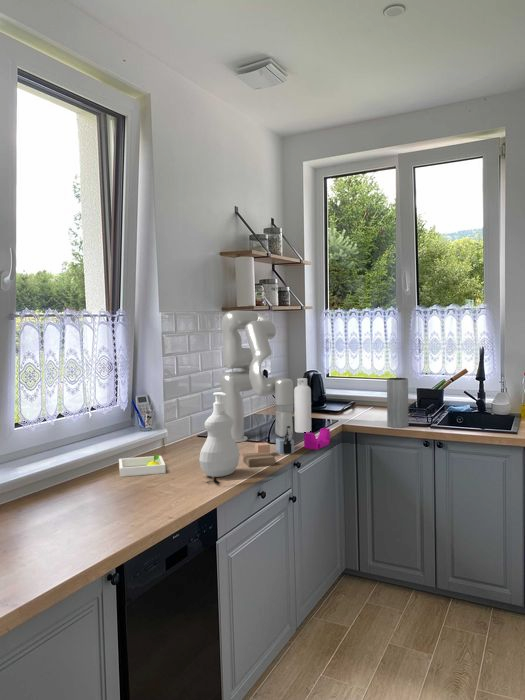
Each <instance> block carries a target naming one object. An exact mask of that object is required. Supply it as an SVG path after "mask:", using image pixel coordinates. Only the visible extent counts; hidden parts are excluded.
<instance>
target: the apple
mask: <svg viewBox="0 0 525 700" xmlns="http://www.w3.org/2000/svg"><path fill="white" fill-rule="evenodd" d="M153 456H154V461H153V462H149V463H148V464H147V465H146V466H149V465H160V464H159V463H157V462H155V460H157V459H158V458H159V456H160V454H155V455H153Z"/></svg>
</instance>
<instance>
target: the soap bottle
mask: <svg viewBox="0 0 525 700" xmlns="http://www.w3.org/2000/svg"><path fill="white" fill-rule="evenodd" d="M212 395H213V396H214V397H215V398H214V399H215V402H213V406H212V407H213V411H212V414H211V415H210V416H208V418H207V419H206V420H205V421H204V428H205V429H206V431H207V437H206V439H205V442H204V443H203V446H202V448H201V450H200V453H199V459H198V460H199V466H200V470H202V471H203V473H204V474H205V475H206V476H207V477H213V478H222V477H226V476H229V475H231V474H233V473H235V471H236V469H237V467H238V465H239V461H240V455H241V454H240V450H239V446H238V444H237V442H235V441H234V439H233V438H232V435H231V428H232V426H233V419H232V418H231V417H230V416H229V415H227V414H226V413H225V411H224V402H223V398H222V396H227V395H226V394H225V393H223V392H222V391H220V392H219V391H217V392H213V394H212Z"/></svg>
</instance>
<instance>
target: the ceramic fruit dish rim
mask: <svg viewBox="0 0 525 700" xmlns="http://www.w3.org/2000/svg"><path fill="white" fill-rule="evenodd" d="M154 456H155V455H153V456H140V457H138V456H137V457H127V458H118V468H119V469H118V470H119V476H120V478H121V477H122V478H123V477H135V476H144V475H145V476H146V475H147V476H148V475H159V474H166V463H165V461H164V459H163V457H162V455H159V458H158V459H157V460H155V462H157V463H159V464H160V465H149V466H147V464H148V463H149V462H153V461H154Z"/></svg>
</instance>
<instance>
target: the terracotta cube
mask: <svg viewBox="0 0 525 700" xmlns="http://www.w3.org/2000/svg"><path fill="white" fill-rule="evenodd" d="M260 452H268V453H269V454H271V444H270V443H268V442H267V441H266V442H256V443H255V442H254V453H260Z"/></svg>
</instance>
